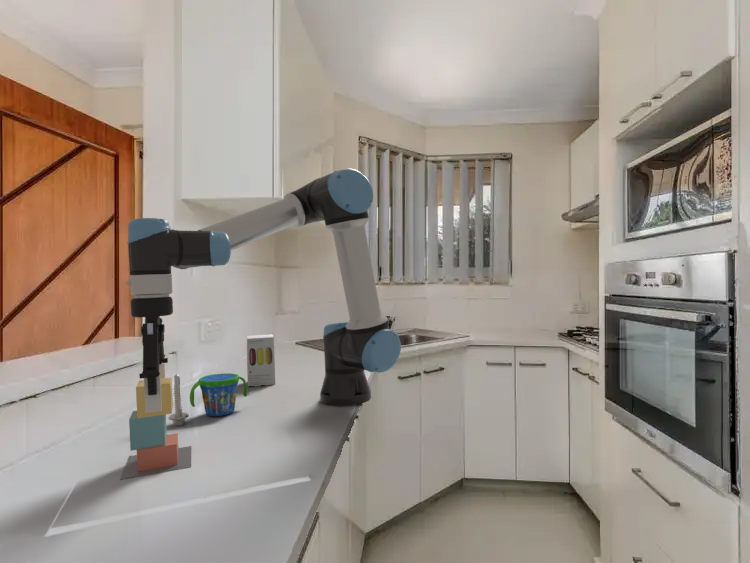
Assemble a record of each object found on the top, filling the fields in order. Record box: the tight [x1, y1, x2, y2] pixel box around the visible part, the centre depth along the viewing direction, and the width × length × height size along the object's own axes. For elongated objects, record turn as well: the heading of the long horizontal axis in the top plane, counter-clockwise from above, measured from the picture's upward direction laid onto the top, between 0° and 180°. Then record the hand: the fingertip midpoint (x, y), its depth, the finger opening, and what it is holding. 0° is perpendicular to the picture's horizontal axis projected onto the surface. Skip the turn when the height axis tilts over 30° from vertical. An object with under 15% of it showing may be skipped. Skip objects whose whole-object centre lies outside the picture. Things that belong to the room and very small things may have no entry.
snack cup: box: [189, 372, 249, 417], centre depth 124 cm, size 16×10×10 cm
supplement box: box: [246, 333, 276, 388], centre depth 159 cm, size 10×9×17 cm
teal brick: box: [128, 410, 168, 452], centre depth 90 cm, size 6×6×6 cm
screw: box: [168, 374, 190, 427], centre depth 116 cm, size 13×5×5 cm
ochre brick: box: [135, 377, 174, 418], centre depth 90 cm, size 6×6×6 cm
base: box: [120, 432, 192, 481], centre depth 90 cm, size 12×12×5 cm
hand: (156, 402), depth 90 cm, fingers open, 13 cm apart
